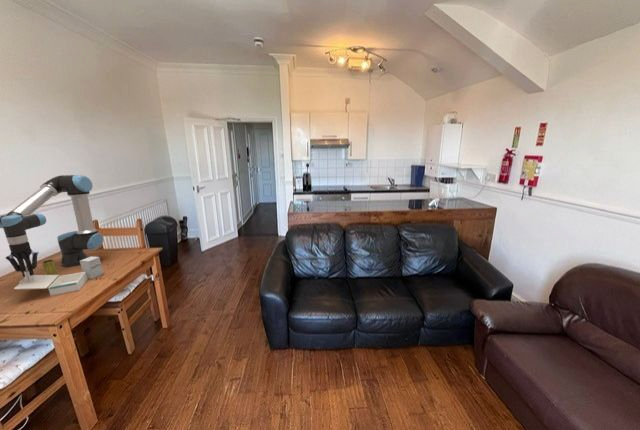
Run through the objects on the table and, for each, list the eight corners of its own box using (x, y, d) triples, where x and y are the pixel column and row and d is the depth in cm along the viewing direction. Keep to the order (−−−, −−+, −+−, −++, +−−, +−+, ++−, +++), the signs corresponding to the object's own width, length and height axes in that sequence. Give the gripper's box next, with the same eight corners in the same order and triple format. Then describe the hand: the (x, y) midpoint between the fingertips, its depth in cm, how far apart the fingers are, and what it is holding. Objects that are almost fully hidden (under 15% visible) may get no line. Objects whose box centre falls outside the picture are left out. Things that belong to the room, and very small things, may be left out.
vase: (63, 279, 171) (57, 259, 168) (51, 284, 166) (44, 263, 162) (57, 278, 173) (51, 258, 169) (45, 283, 168) (38, 262, 164)
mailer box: (61, 283, 167) (59, 276, 165) (87, 278, 172) (85, 271, 171) (50, 296, 153) (48, 287, 151) (79, 290, 158) (77, 282, 157)
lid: (59, 272, 165) (58, 275, 166) (30, 272, 159) (30, 275, 159) (46, 285, 150) (46, 288, 150) (13, 286, 144) (13, 289, 144)
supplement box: (92, 279, 172) (88, 261, 168) (83, 278, 173) (78, 260, 170) (103, 273, 179) (99, 256, 175) (95, 273, 180) (90, 256, 177)
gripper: (-3, 246, 141) (10, 286, 147) (31, 242, 147) (43, 281, 153) (5, 242, 148) (18, 280, 153) (38, 238, 153) (48, 275, 159)
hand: (30, 280), depth 153 cm, fingers closed
